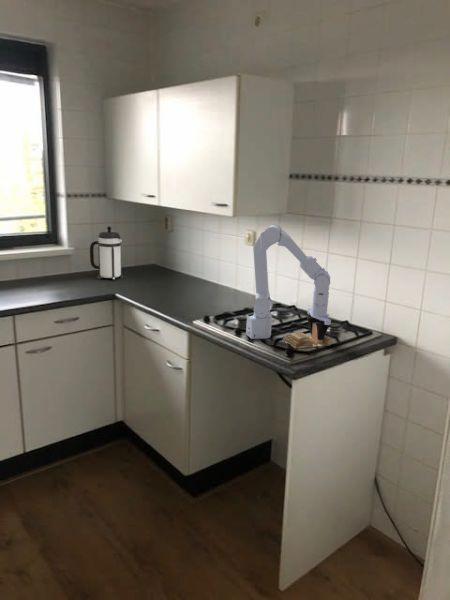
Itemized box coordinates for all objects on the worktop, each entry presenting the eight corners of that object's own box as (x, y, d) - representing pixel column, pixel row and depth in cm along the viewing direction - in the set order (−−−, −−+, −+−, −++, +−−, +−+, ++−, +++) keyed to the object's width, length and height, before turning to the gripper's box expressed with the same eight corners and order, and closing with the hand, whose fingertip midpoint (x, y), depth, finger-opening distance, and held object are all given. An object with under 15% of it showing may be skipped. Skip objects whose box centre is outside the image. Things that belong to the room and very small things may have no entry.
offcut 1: (298, 342, 182) (298, 338, 181) (289, 337, 187) (289, 333, 187) (309, 340, 184) (309, 336, 184) (300, 335, 189) (300, 332, 189)
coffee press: (120, 274, 293) (119, 224, 285) (126, 280, 279) (125, 227, 271) (90, 276, 286) (88, 224, 278) (95, 282, 272) (93, 228, 264)
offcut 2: (295, 347, 182) (295, 342, 181) (286, 339, 189) (286, 335, 189) (312, 345, 184) (312, 341, 183) (302, 338, 191) (302, 334, 191)
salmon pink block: (317, 343, 186) (318, 326, 184) (311, 338, 191) (312, 322, 189) (322, 342, 187) (323, 326, 185) (315, 338, 191) (317, 322, 190)
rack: (294, 350, 181) (294, 342, 180) (282, 341, 190) (283, 333, 189) (329, 347, 185) (330, 339, 184) (317, 338, 194) (317, 330, 194)
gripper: (339, 308, 179) (335, 342, 183) (320, 297, 193) (317, 330, 196) (322, 308, 177) (319, 344, 181) (304, 298, 190) (301, 331, 194)
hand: (316, 337), depth 188 cm, fingers closed on salmon pink block, 5 cm apart
